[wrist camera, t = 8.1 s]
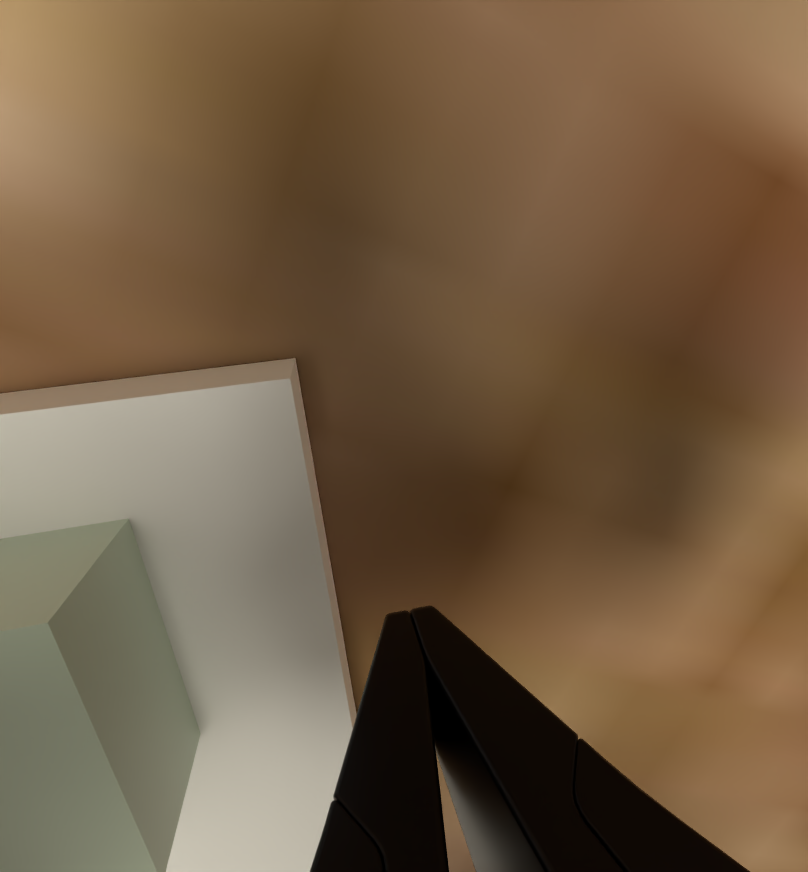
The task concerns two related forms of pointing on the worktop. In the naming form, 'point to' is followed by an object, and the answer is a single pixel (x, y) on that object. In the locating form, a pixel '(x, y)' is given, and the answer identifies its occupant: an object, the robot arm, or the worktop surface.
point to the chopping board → (211, 581)
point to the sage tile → (88, 707)
